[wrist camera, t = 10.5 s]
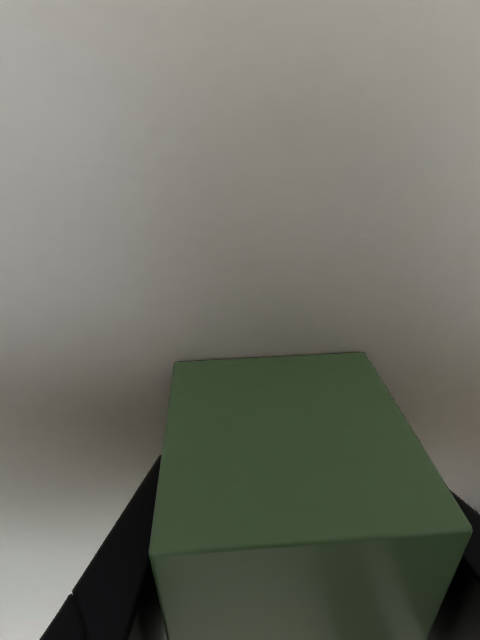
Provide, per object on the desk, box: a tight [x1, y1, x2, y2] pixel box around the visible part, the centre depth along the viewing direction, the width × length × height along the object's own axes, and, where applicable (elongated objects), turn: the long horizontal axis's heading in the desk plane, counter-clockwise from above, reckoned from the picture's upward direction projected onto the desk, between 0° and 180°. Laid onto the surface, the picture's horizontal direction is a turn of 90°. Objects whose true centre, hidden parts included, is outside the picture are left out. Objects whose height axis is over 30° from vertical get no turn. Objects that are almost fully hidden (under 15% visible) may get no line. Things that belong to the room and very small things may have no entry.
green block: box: [149, 352, 473, 640], centre depth 8 cm, size 4×4×4 cm
